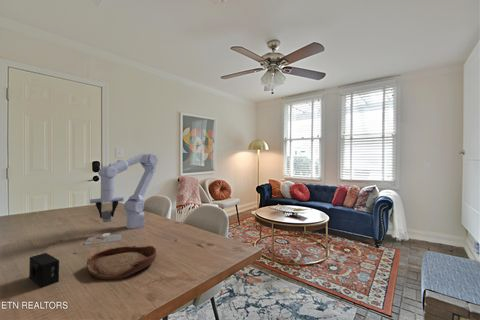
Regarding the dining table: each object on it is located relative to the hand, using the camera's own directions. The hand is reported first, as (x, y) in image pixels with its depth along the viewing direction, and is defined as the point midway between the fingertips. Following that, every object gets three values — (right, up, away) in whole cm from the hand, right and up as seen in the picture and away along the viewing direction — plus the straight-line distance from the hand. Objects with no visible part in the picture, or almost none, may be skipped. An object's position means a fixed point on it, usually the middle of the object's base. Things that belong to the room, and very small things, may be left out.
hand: (106, 216), depth 111 cm
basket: (+24, -11, -30) cm, 40 cm away
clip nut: (0, -2, 0) cm, 2 cm away
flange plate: (+3, -10, -7) cm, 12 cm away
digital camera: (+4, -10, -41) cm, 42 cm away
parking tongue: (0, -10, 0) cm, 10 cm away
